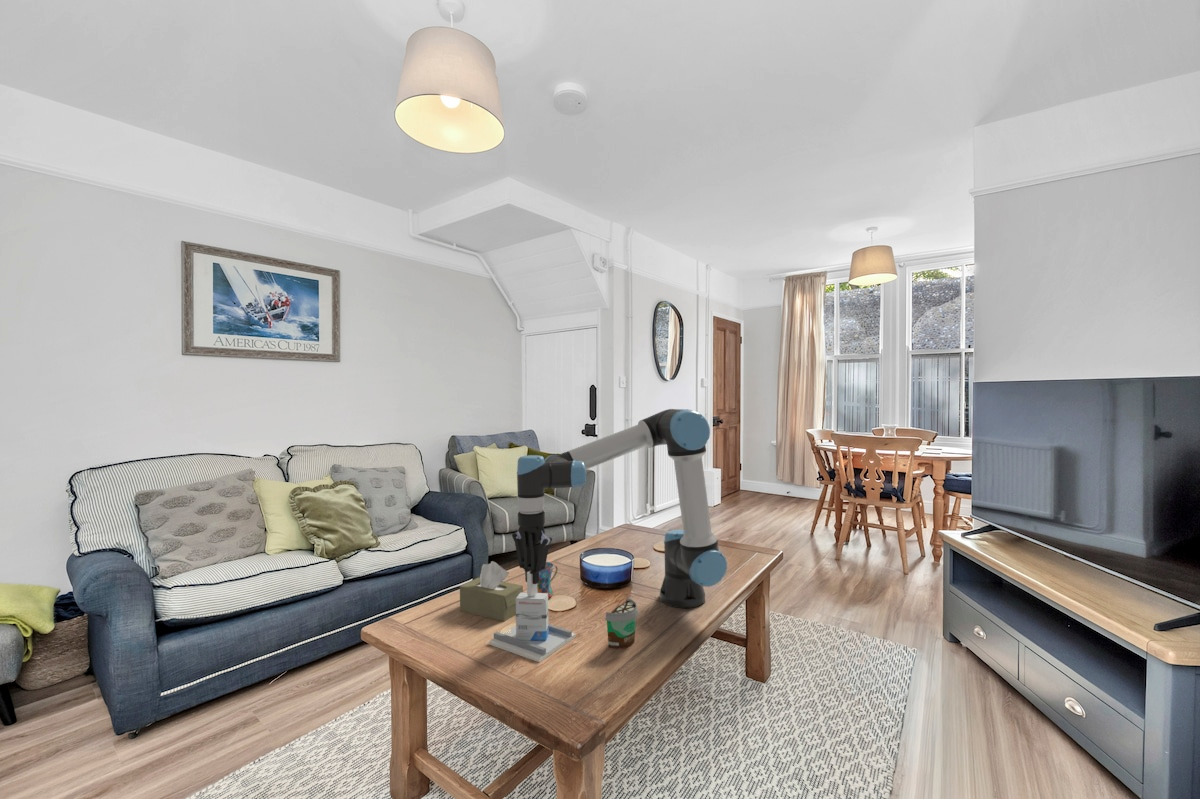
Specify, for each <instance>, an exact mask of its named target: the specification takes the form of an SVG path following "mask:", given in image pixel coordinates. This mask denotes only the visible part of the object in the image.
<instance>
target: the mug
mask: <svg viewBox="0 0 1200 799" xmlns="http://www.w3.org/2000/svg"><path fill="white" fill-rule="evenodd" d="M554 568H555V571H554V573H553V570H554ZM558 569H559V568H558V566H557V565H556V564H555V565H554V563H552V562H550V561H546V565H545V569H544V570H542V571H540V572H539V583H537V590H538V593H548V599H550V598H551V597H553V595H554V591H553V590H552V581H553V580H554V579H555V577H556V576H557V574H558ZM552 573H553V576H552Z"/></svg>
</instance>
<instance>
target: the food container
mask: <svg viewBox="0 0 1200 799" xmlns="http://www.w3.org/2000/svg"><path fill="white" fill-rule="evenodd" d="M639 613H640V612H639V609H638V605H637V602H635V600H633V599H631V598H628V597H626V598H625V602H624V603H622V604H620V605H618V606H616V607H615V608H614V609H613V610H612V611H611V612H608V611H607V612H605V621H606V628H607V643H608V645H607V646H608V648H612V649H625V648H628V647H631V646H633V644H634V643H635V639H636V638H635V637H636V624H637V623H636V622H637V617H638V615H639Z"/></svg>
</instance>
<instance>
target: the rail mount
mask: <svg viewBox="0 0 1200 799" xmlns="http://www.w3.org/2000/svg"><path fill="white" fill-rule="evenodd" d="M548 624H549V623H548ZM510 629H511V631H510V632H511V633H510V632H509V631H508V632H509V633H508V632H507V633H506V632H505V631H504V632H505V633H504V632H499V631H495V632H493V638H492V639H490V640H489V641H488V644H489V645H490V646H492V647H495V648H498V649H501V650H504V651H507V652H509V653H512V654H515V655H518V656H521V657H523V658H525V659H528V660H532V661H534V662H537V663H541V662H542V661H544V660H545V659H547V658H548V657H549V656H551V655H552V654H554V653H556V651H558V650H559V649H561V648H562V647H564V646H565V645H567V644H568V643H569V642H571V641H572V640H574V639H575V638H576V633H574V632H573V631H572V630H569V629H566V628H562V627H559V626H556V625H553V624H549V633H548V637H547V640H546V641H534V640H520V639H517V638H516V625H514V626H512V627H511V628H510ZM503 633H504V634H503Z"/></svg>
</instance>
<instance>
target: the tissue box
mask: <svg viewBox="0 0 1200 799" xmlns="http://www.w3.org/2000/svg"><path fill="white" fill-rule="evenodd" d="M509 574H510V572H509V571H507V570H506V569H504V567H502V566H501V565H499V564H498V563H497V562H495V561H493V560H492V561H490V563H483V564H482V566H481V570H480V574H479V577H478V576H477V578H474V579H472V580H471V581H468V582H465V583H463V584H462V585H459V611H461V612H465V613H469V614H473V615H475V616H480V617H484V618H488V619H493V620H497V621H499V622H506V621H508V620H510V618H511V619H512V618H513V617H514V616H516V598H517V596H518V595H519V593H520V592H521V593H524V586H523V585H522V584H517V583H512V582H509V581H505V580H506V579H507V577H508V576H509Z"/></svg>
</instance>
